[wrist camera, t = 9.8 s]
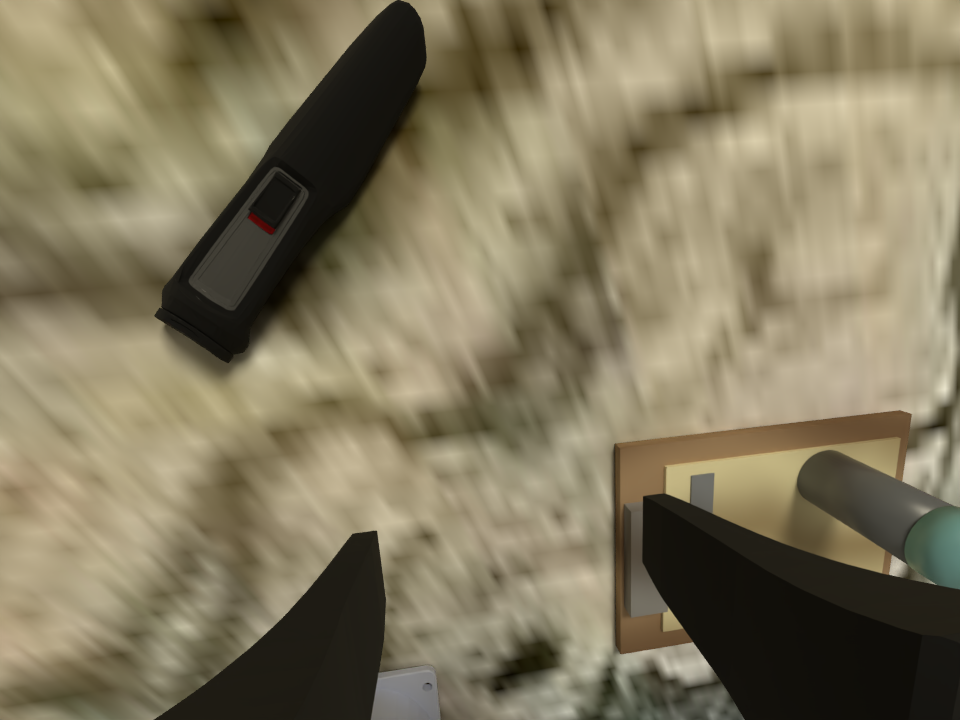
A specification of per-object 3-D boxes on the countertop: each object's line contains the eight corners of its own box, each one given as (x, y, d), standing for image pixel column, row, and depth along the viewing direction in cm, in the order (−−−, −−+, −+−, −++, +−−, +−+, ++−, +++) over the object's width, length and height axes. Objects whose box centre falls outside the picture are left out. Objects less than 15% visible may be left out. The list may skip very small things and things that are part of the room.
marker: (849, 497, 24) (1013, 591, 18) (795, 508, 24) (941, 607, 17) (852, 444, 24) (1025, 520, 17) (797, 454, 23) (950, 536, 17)
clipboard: (873, 602, 27) (897, 620, 26) (616, 645, 25) (627, 666, 24) (900, 410, 25) (928, 419, 23) (615, 443, 23) (627, 455, 21)
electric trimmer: (450, 80, 19) (456, 44, 16) (238, 366, 20) (206, 383, 17) (377, 13, 18) (368, -39, 15) (160, 314, 19) (111, 323, 16)
